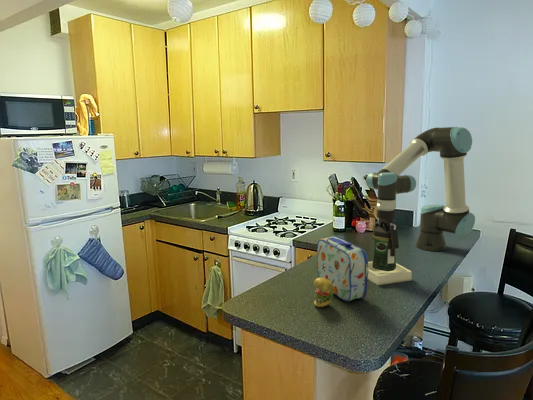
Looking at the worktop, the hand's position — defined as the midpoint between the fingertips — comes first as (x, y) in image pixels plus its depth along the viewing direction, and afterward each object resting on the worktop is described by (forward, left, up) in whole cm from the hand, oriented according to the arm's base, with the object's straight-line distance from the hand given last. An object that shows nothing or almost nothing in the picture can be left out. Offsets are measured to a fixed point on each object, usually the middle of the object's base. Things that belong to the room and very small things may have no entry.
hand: (384, 259), depth 166 cm
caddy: (0, 0, -8) cm, 8 cm away
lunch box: (+25, +9, -8) cm, 28 cm away
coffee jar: (0, 0, -4) cm, 4 cm away
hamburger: (+37, +18, -8) cm, 42 cm away
